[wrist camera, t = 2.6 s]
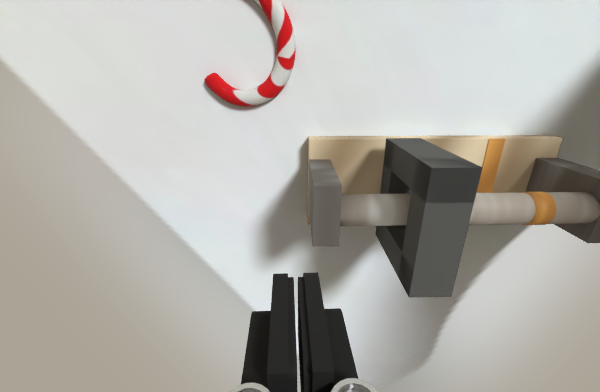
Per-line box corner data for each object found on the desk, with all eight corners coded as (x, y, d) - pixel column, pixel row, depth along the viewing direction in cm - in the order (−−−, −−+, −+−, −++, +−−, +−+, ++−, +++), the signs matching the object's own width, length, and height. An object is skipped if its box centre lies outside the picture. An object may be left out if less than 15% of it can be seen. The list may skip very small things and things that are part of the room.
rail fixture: (549, 135, 23) (652, 158, 16) (524, 215, 25) (603, 263, 19) (308, 136, 22) (314, 160, 16) (307, 217, 25) (312, 266, 19)
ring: (420, 137, 20) (482, 167, 14) (405, 233, 23) (451, 296, 16) (386, 138, 20) (431, 167, 14) (375, 233, 23) (409, 297, 16)
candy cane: (100, -163, 15) (322, 28, 19) (114, -145, 17) (320, 31, 20) (51, -21, 18) (257, 126, 21) (67, -14, 19) (259, 123, 23)
